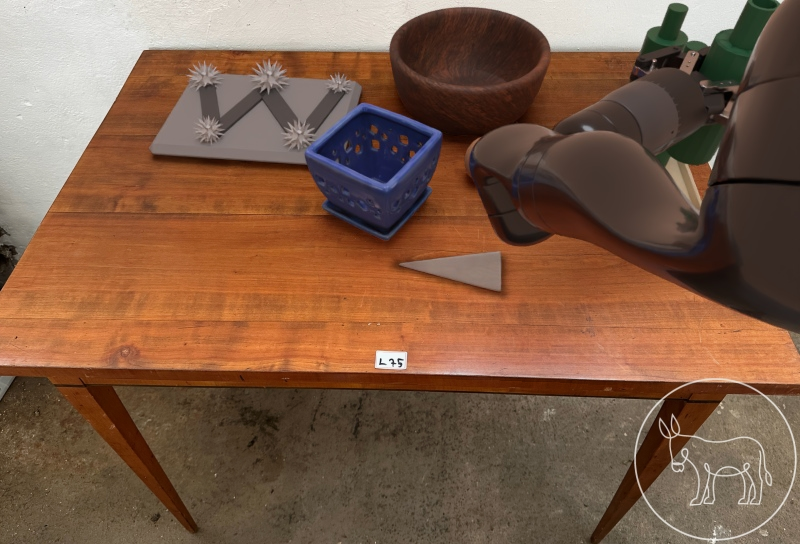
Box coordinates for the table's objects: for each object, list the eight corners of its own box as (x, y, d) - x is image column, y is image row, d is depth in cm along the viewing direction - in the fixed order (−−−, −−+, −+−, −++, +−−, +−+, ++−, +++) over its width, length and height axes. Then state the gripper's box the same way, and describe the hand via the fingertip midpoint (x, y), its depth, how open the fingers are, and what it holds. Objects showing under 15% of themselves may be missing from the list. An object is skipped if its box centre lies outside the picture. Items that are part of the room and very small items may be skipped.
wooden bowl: (391, 62, 100) (390, 6, 92) (527, 60, 99) (537, 4, 91) (389, 149, 84) (387, 91, 76) (551, 147, 84) (566, 89, 76)
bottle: (714, 143, 68) (796, -4, 54) (710, 170, 64) (796, 21, 50) (667, 131, 69) (735, -15, 55) (661, 157, 66) (731, 9, 52)
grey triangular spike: (396, 298, 66) (503, 289, 64) (393, 260, 67) (500, 250, 64) (405, 301, 72) (504, 292, 69) (403, 266, 73) (501, 256, 70)
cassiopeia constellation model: (149, 160, 83) (131, 121, 78) (197, 81, 97) (184, 43, 91) (341, 173, 81) (337, 134, 75) (363, 90, 94) (360, 52, 89)
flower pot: (311, 219, 75) (297, 150, 66) (367, 166, 82) (362, 97, 73) (390, 259, 70) (387, 191, 61) (443, 199, 77) (447, 130, 68)
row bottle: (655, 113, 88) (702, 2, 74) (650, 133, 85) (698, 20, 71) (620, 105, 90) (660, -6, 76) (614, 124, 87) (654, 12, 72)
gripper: (723, 124, 47) (827, 62, 53) (596, 52, 54) (700, 6, 60) (687, 188, 53) (784, 126, 59) (577, 116, 60) (674, 67, 66)
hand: (741, 65), depth 59 cm, fingers closed on bottle, 5 cm apart
